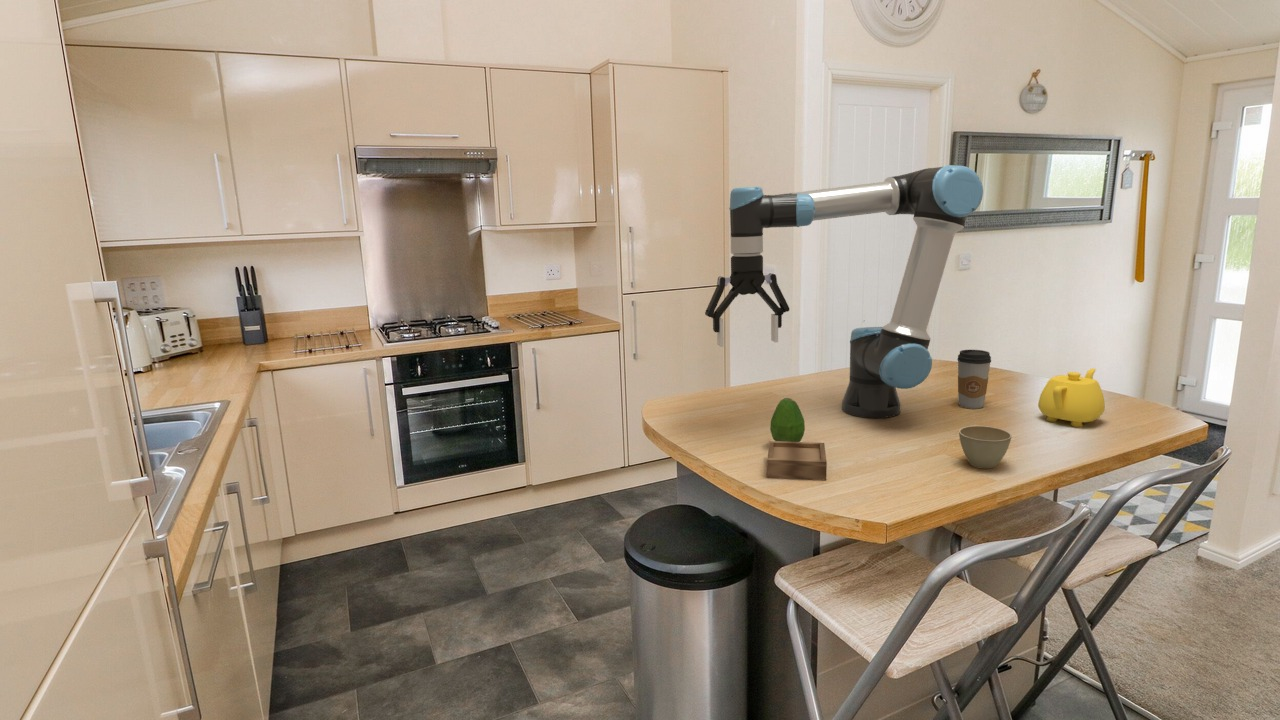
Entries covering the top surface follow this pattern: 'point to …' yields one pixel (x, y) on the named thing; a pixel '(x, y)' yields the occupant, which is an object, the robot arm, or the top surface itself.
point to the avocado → (787, 422)
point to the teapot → (1072, 398)
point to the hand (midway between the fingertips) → (747, 343)
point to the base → (796, 460)
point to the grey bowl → (984, 445)
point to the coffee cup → (973, 378)
